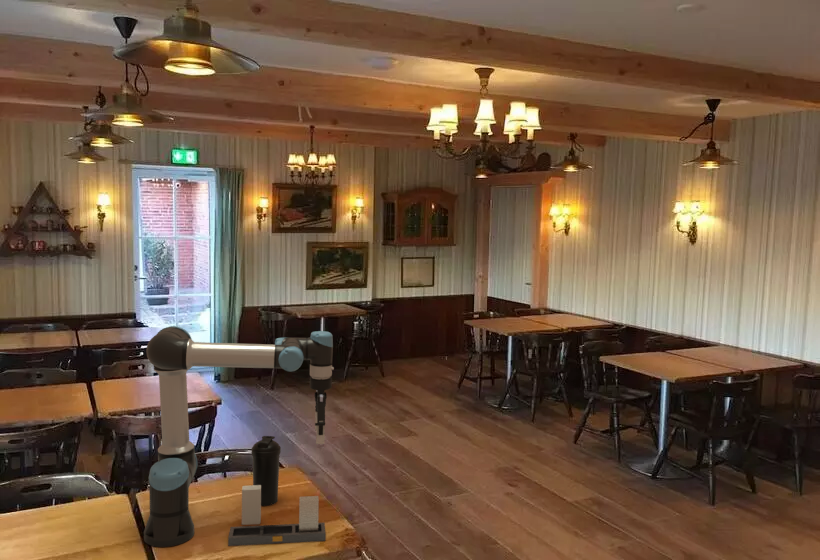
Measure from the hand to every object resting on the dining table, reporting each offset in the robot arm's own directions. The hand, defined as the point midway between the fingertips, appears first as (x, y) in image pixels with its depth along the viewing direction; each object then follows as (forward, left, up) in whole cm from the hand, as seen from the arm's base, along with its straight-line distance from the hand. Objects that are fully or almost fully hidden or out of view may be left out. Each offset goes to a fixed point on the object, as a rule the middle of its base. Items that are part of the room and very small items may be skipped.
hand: (319, 437), depth 231 cm
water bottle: (-18, +10, -27) cm, 34 cm away
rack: (-13, -18, -27) cm, 35 cm away
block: (-22, -6, -27) cm, 35 cm away
